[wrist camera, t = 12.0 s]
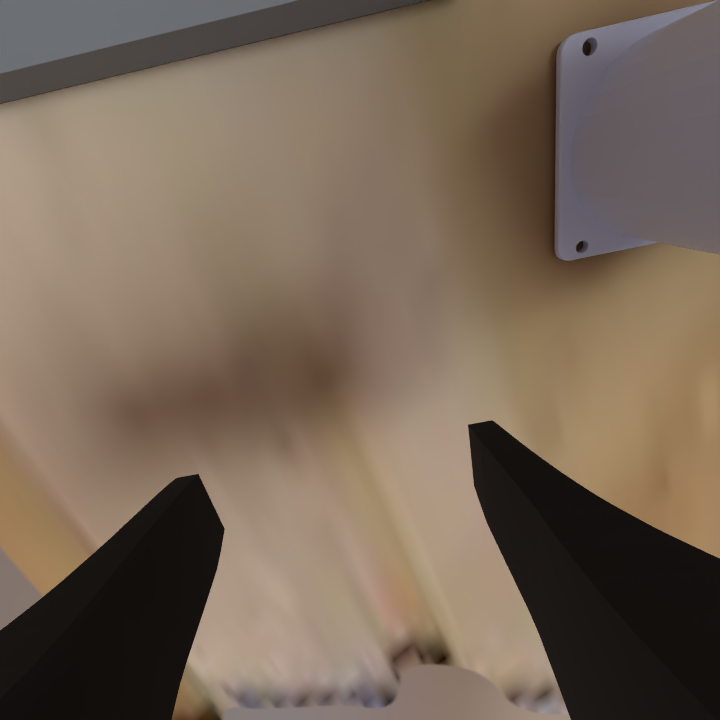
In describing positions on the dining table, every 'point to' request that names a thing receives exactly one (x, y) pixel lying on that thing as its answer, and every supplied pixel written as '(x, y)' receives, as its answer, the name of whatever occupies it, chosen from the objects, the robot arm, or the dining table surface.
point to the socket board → (142, 34)
